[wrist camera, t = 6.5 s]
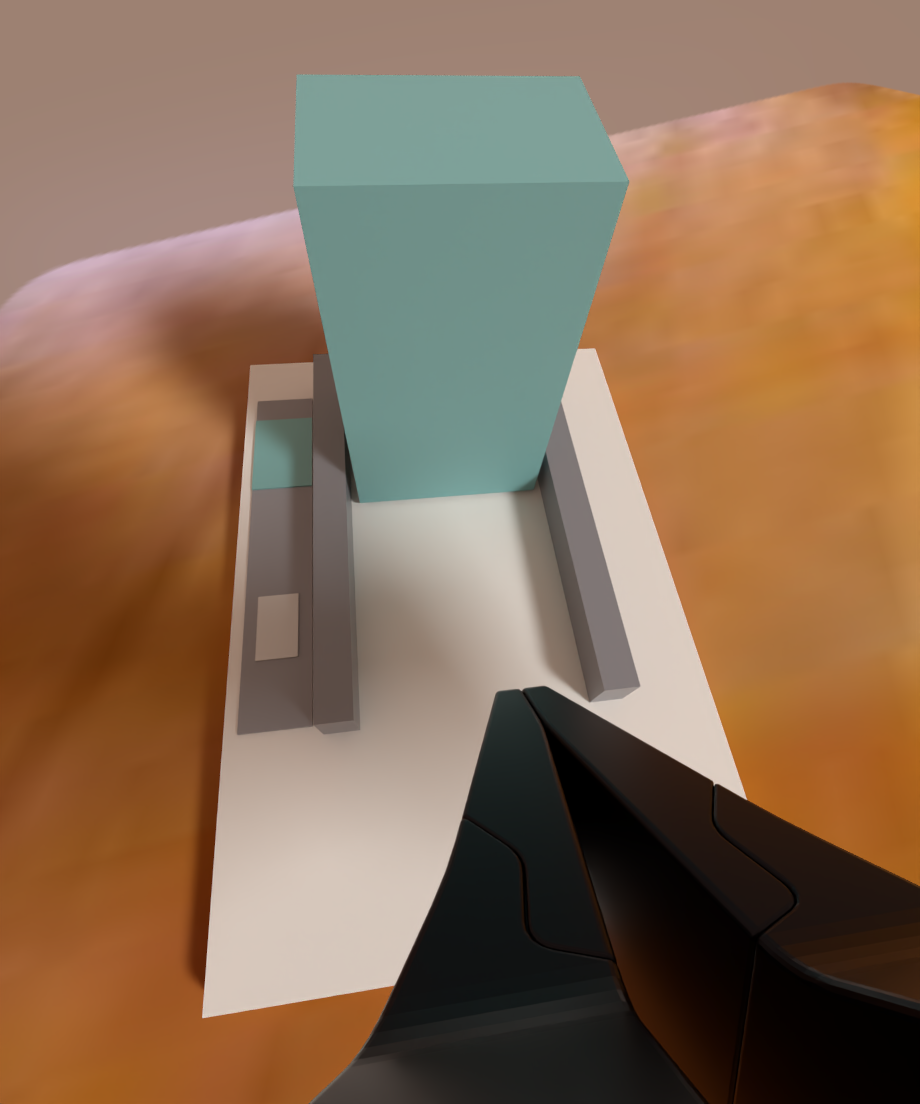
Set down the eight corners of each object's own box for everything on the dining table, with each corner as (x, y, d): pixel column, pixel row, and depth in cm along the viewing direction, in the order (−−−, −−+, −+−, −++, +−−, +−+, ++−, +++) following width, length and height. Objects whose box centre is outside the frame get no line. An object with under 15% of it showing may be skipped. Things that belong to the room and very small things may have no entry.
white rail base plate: (764, 912, 14) (827, 928, 12) (218, 1004, 13) (173, 1042, 10) (588, 367, 23) (605, 318, 21) (257, 383, 22) (238, 333, 20)
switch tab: (533, 489, 19) (629, 180, 10) (359, 503, 18) (293, 186, 9) (514, 403, 20) (579, 76, 12) (355, 412, 20) (296, 74, 11)
